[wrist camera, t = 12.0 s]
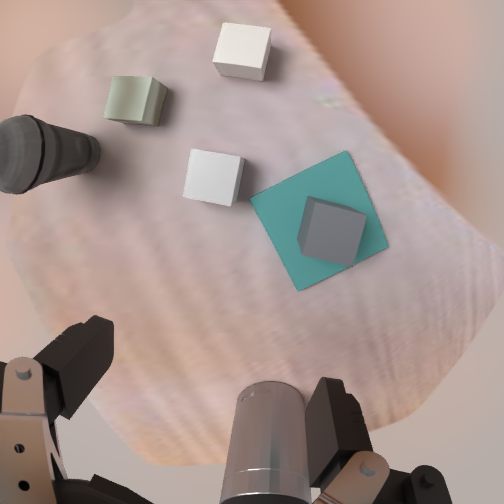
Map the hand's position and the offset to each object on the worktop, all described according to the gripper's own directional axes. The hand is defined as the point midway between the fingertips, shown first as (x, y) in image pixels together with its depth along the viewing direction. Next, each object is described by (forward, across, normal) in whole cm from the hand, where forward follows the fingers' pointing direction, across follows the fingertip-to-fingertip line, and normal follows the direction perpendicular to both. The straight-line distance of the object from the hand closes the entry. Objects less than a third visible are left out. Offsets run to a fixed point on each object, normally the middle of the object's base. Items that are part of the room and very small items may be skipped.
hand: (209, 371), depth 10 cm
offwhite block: (+22, +5, -19) cm, 30 cm away
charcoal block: (+21, -6, -4) cm, 23 cm away
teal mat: (+22, -6, -4) cm, 24 cm away
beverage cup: (+22, +22, -5) cm, 32 cm away
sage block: (+22, +15, -12) cm, 29 cm away
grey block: (+22, +5, -6) cm, 24 cm away
